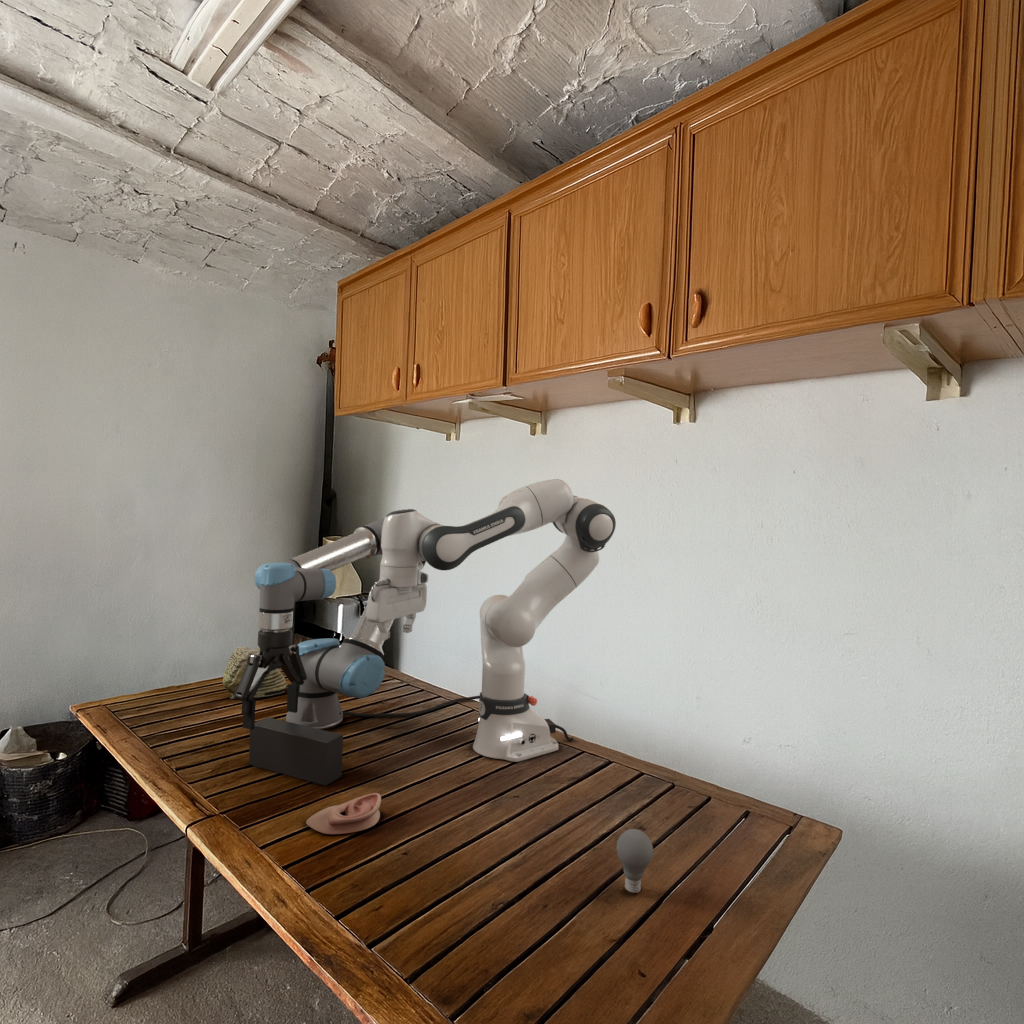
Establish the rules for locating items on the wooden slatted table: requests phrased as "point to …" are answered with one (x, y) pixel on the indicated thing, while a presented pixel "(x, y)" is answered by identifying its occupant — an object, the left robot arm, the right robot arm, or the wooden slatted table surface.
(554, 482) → the right robot arm
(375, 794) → the anatomical model
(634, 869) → the light bulb
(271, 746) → the bar
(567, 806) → the wooden slatted table surface
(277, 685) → the fossil
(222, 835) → the wooden slatted table surface
